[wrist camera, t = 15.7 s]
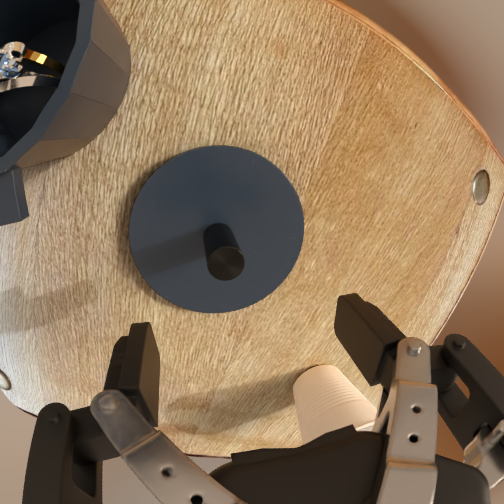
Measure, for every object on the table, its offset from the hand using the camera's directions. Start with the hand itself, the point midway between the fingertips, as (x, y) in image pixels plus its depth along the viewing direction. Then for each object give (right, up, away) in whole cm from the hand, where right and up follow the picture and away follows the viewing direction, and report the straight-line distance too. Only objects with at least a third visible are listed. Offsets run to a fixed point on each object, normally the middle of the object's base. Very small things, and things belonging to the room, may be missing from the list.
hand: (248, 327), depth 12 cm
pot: (-15, +16, +3) cm, 22 cm away
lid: (-2, +4, +11) cm, 12 cm away
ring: (-15, +16, +3) cm, 22 cm away
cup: (+8, -13, +21) cm, 26 cm away
